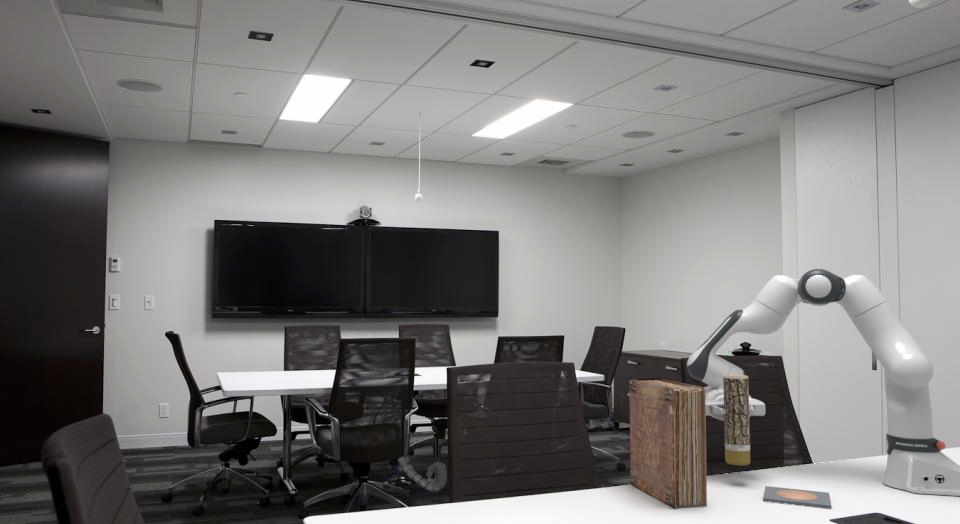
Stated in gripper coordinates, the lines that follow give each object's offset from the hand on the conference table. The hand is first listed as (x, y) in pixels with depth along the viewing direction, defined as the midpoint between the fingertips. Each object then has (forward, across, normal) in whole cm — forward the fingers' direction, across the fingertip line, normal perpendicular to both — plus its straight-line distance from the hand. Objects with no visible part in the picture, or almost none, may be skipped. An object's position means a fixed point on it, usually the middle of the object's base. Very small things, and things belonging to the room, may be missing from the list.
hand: (737, 412), depth 201 cm
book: (+12, -24, +21) cm, 34 cm away
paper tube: (-1, 0, +15) cm, 15 cm away
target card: (+13, +10, +21) cm, 27 cm away
